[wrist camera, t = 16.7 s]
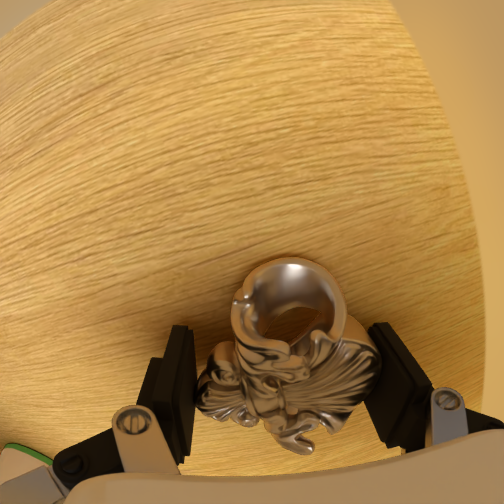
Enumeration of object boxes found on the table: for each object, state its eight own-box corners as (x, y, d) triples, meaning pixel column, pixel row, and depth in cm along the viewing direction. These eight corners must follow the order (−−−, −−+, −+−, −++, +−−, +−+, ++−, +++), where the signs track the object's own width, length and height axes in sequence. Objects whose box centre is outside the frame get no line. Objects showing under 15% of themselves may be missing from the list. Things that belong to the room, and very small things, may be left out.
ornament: (162, 283, 11) (134, 342, 8) (348, 233, 11) (395, 275, 7) (227, 423, 14) (227, 484, 10) (364, 388, 13) (390, 444, 10)
